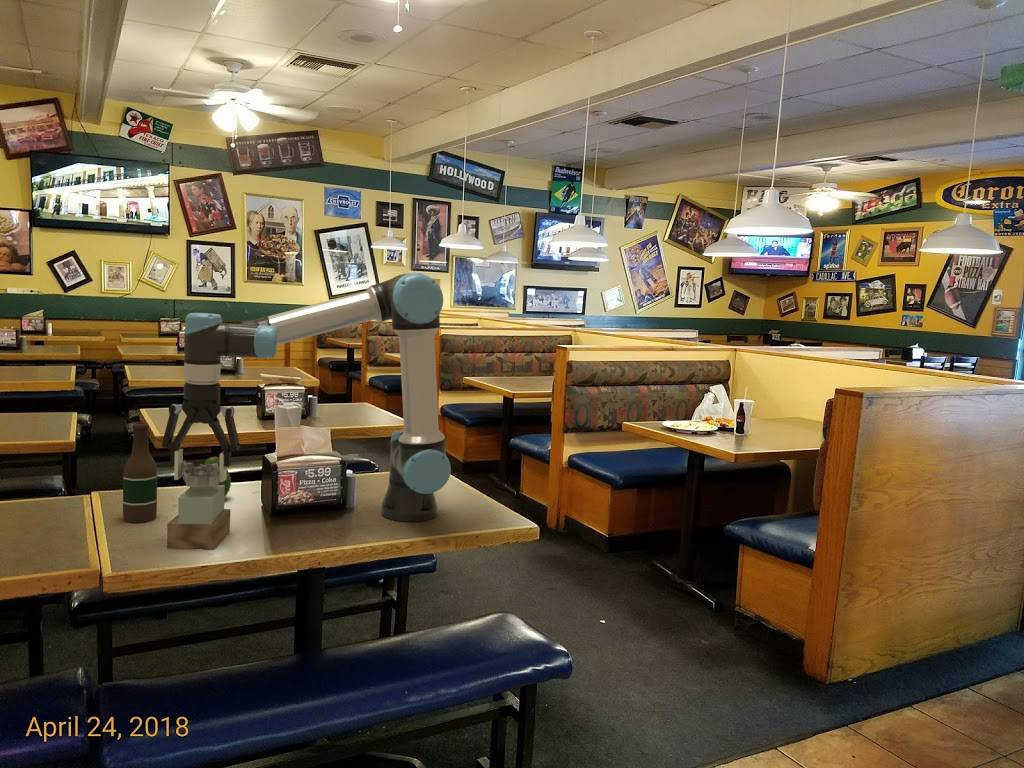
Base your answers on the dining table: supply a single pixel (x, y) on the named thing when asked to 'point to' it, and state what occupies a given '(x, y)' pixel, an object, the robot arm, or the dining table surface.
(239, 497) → the dining table surface
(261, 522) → the dining table surface
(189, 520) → the tower top block
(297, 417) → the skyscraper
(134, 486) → the beer bottle
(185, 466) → the egg carton
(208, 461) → the fruit
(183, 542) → the tower base block
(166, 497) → the dining table surface
